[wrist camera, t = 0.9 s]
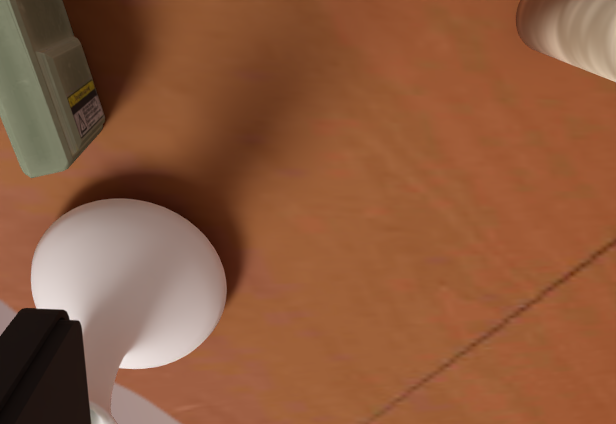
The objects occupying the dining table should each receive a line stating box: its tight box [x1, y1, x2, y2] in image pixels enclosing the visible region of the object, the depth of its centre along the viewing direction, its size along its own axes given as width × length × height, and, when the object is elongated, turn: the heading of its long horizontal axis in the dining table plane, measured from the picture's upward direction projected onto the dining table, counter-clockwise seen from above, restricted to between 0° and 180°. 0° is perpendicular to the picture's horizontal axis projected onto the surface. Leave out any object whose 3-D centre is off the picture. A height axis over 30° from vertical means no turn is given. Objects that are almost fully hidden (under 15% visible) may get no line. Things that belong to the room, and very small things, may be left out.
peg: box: [516, 0, 616, 82], centre depth 27 cm, size 4×4×10 cm
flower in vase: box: [31, 198, 227, 424], centre depth 25 cm, size 13×11×25 cm
